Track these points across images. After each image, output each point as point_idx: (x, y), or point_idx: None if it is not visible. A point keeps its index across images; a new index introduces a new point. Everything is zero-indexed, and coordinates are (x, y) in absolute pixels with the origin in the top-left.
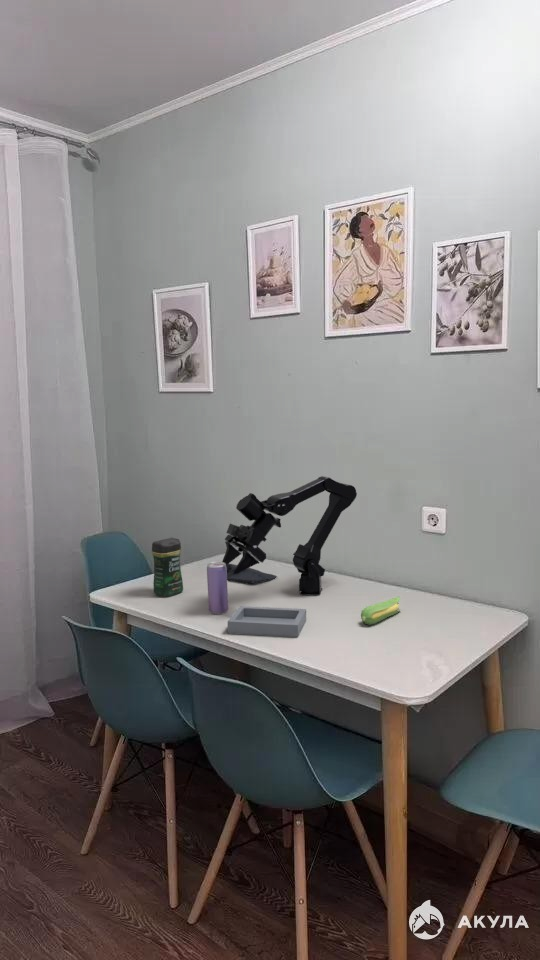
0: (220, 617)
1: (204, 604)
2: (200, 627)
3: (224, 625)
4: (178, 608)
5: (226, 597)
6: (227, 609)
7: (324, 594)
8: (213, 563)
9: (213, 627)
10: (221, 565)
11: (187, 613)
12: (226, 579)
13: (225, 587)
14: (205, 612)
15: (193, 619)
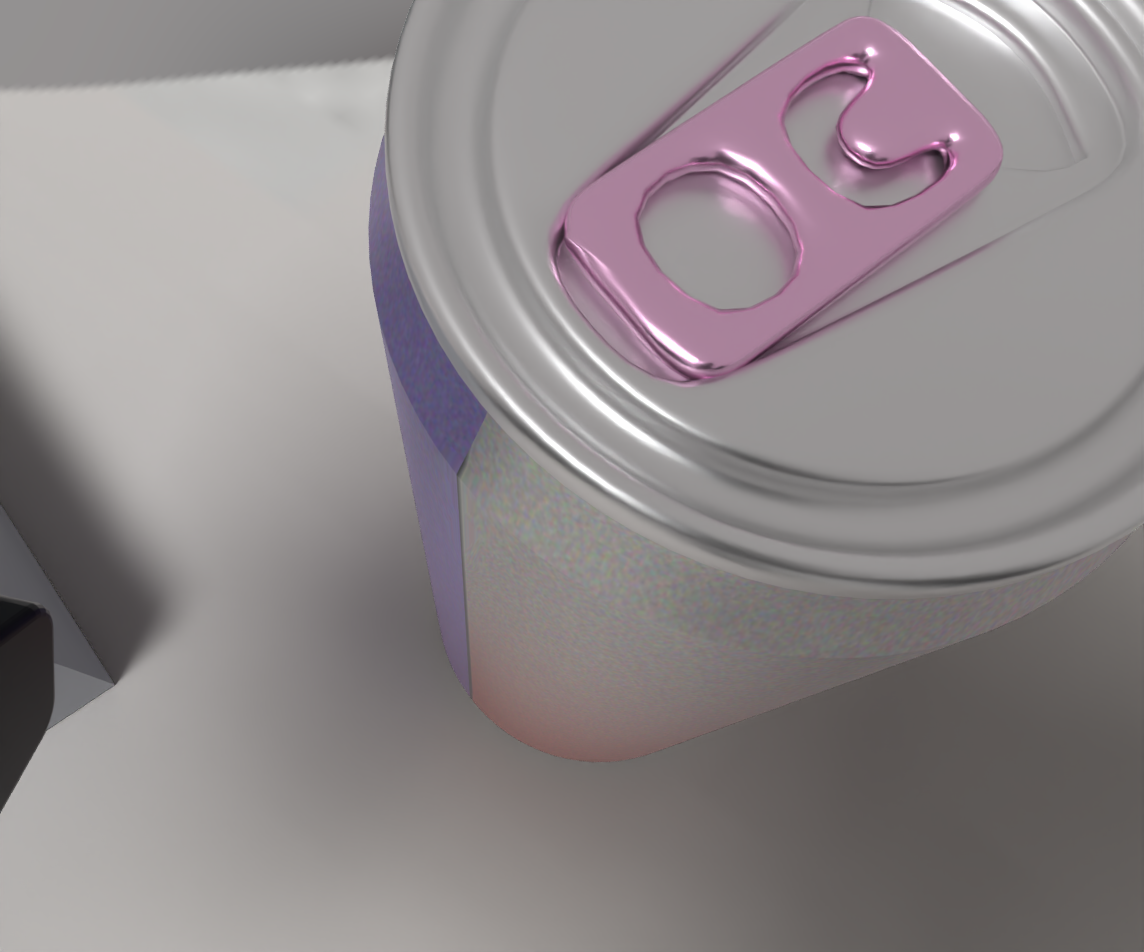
0: (363, 470)
1: (1027, 648)
2: (268, 82)
3: (60, 316)
4: None
5: (444, 623)
6: (458, 677)
7: None
8: (1119, 173)
9: (129, 181)
10: (525, 189)
11: None
12: (456, 577)
13: (425, 549)
14: None
15: None
